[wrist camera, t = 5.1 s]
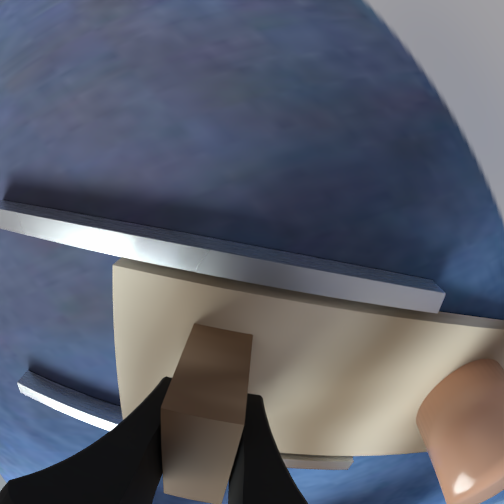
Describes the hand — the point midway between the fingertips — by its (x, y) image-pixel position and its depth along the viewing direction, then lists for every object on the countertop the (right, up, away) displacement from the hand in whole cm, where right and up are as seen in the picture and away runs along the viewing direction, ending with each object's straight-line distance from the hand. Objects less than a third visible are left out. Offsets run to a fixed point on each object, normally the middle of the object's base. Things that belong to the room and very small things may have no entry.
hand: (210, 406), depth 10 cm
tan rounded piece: (+11, -2, +1) cm, 12 cm away
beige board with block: (+6, 0, +2) cm, 6 cm away
